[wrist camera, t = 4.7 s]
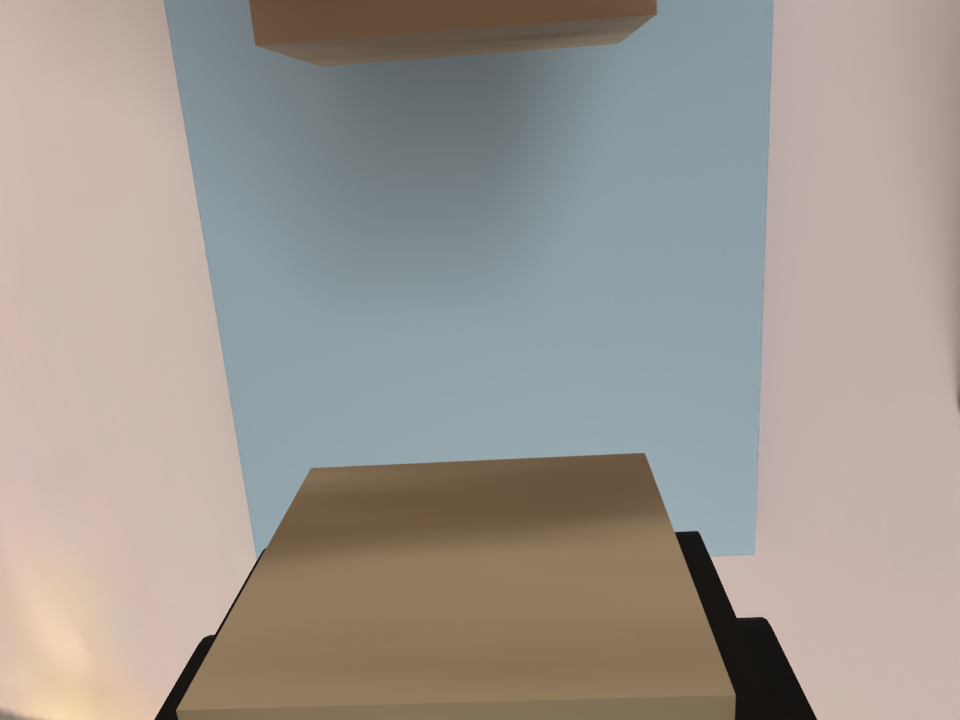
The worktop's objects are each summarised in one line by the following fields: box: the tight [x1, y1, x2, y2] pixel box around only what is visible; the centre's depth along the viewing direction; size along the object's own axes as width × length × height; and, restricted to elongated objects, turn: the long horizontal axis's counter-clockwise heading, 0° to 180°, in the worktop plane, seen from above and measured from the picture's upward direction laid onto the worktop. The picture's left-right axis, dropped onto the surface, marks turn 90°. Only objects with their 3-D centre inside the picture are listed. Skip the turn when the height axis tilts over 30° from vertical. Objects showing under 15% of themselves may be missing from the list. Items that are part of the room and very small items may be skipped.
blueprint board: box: [164, 0, 773, 560], centre depth 17 cm, size 22×14×6 cm, turn 4°
